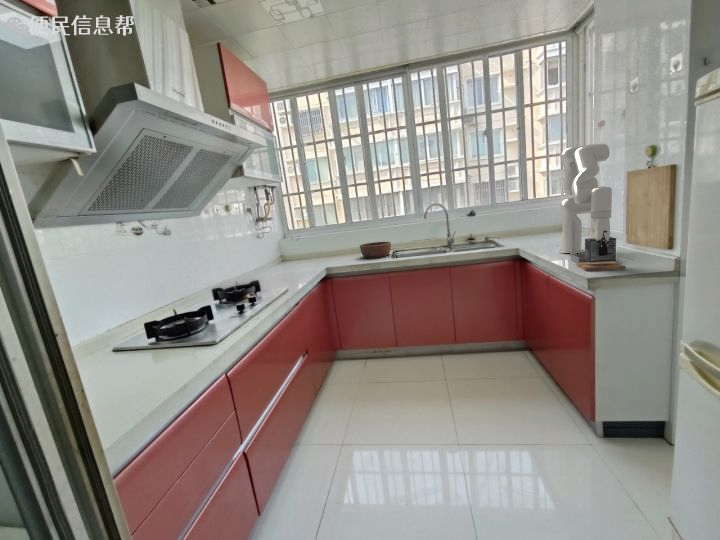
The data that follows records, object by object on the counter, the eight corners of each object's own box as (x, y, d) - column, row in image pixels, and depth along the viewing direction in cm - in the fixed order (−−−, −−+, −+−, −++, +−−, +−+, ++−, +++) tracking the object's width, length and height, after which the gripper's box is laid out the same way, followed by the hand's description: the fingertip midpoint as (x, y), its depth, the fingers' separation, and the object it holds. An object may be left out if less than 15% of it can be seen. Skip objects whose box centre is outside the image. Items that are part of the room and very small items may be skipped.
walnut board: (576, 265, 161) (576, 262, 161) (612, 263, 157) (612, 260, 156) (586, 271, 149) (586, 268, 149) (625, 269, 144) (625, 266, 144)
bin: (570, 259, 175) (570, 254, 174) (604, 258, 170) (604, 252, 170) (578, 264, 163) (578, 258, 163) (615, 262, 158) (615, 256, 158)
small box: (609, 258, 154) (610, 236, 152) (616, 261, 148) (617, 238, 146) (584, 259, 157) (584, 238, 155) (589, 262, 151) (589, 239, 149)
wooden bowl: (367, 254, 281) (365, 242, 279) (395, 252, 272) (394, 240, 270) (356, 259, 258) (355, 247, 256) (386, 258, 249) (385, 244, 247)
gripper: (584, 214, 158) (583, 251, 161) (598, 217, 141) (597, 257, 145) (602, 213, 155) (601, 250, 159) (619, 215, 139) (617, 256, 143)
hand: (599, 253), depth 152 cm, fingers closed on small box, 6 cm apart
